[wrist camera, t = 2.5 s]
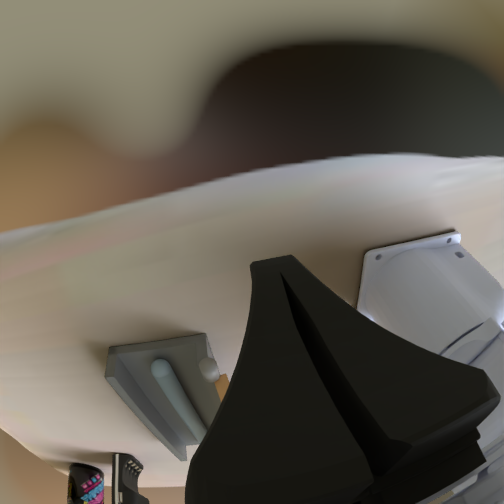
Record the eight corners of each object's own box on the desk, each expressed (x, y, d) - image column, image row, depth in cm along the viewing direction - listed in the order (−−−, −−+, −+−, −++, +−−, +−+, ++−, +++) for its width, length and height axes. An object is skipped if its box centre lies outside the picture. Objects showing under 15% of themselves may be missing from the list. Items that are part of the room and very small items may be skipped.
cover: (212, 377, 21) (226, 373, 21) (244, 452, 31) (252, 449, 31) (256, 491, 14) (272, 485, 14) (272, 516, 24) (280, 513, 24)
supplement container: (106, 475, 42) (106, 523, 33) (72, 469, 40) (70, 516, 31) (103, 466, 39) (102, 519, 30) (66, 459, 37) (63, 511, 28)
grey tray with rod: (212, 327, 23) (217, 370, 19) (246, 433, 35) (251, 459, 31) (107, 343, 22) (100, 383, 19) (180, 442, 34) (182, 468, 31)
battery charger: (149, 466, 39) (153, 528, 30) (127, 465, 39) (129, 527, 29) (135, 452, 35) (137, 523, 26) (111, 451, 35) (111, 521, 25)
